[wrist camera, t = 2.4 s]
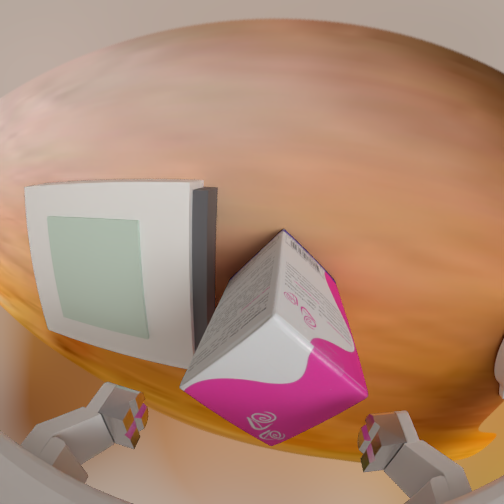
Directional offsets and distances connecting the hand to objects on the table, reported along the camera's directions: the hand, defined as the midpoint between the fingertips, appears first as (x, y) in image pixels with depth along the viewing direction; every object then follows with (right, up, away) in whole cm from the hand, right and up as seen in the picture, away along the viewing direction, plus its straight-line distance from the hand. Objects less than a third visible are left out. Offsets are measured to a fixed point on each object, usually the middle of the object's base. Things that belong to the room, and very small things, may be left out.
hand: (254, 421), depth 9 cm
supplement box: (+2, +4, +12) cm, 13 cm away
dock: (-12, +5, +13) cm, 19 cm away
